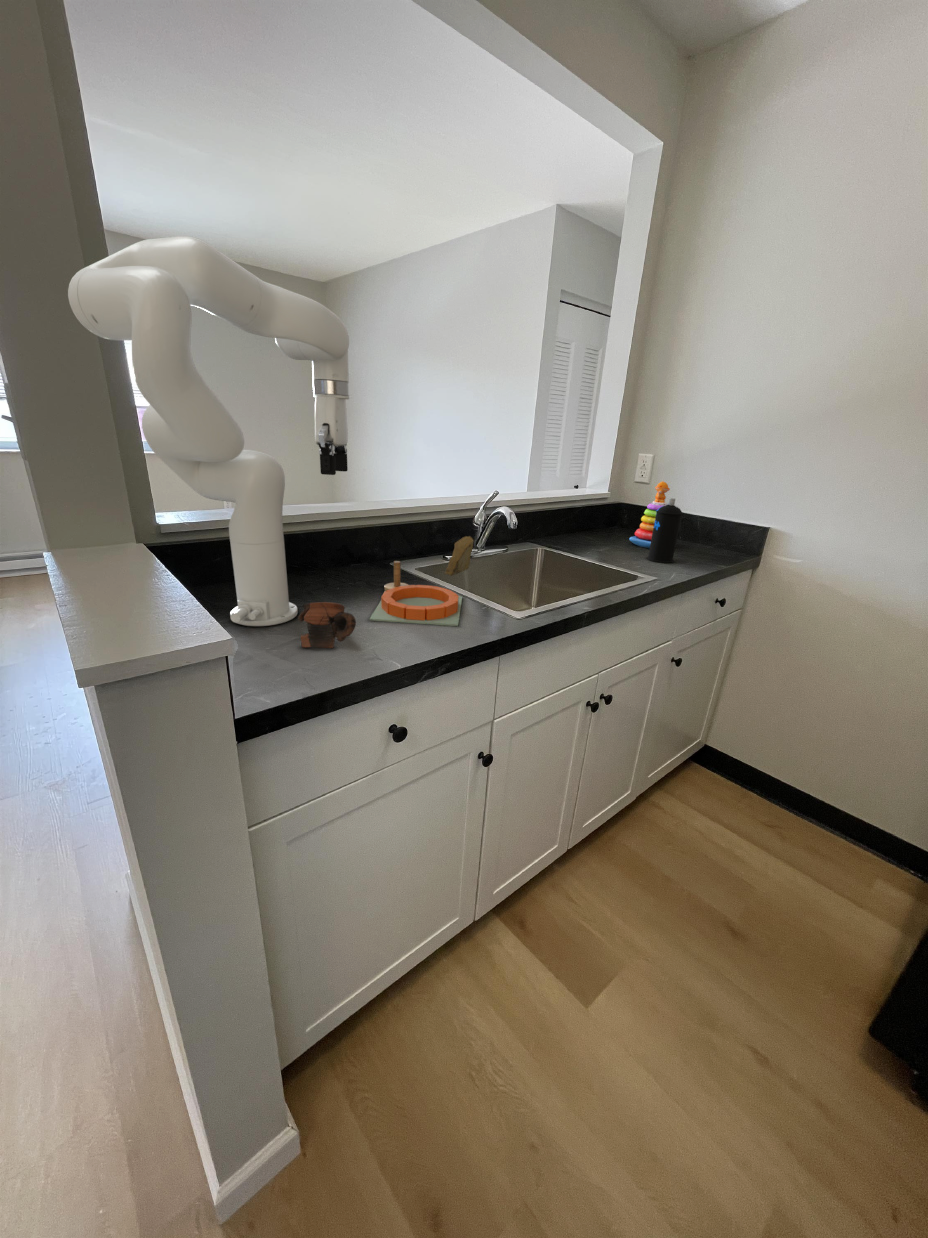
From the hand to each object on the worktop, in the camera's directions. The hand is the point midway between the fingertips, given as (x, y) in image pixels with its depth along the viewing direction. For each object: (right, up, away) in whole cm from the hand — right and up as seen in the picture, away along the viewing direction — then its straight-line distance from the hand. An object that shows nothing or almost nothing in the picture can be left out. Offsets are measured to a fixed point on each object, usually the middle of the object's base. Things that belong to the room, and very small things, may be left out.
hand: (334, 472), depth 113 cm
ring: (+20, -31, -5) cm, 37 cm away
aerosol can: (+94, -14, +50) cm, 108 cm away
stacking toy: (+100, -6, +71) cm, 123 cm away
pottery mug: (+5, -38, -23) cm, 45 cm away
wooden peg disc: (+13, -27, +6) cm, 30 cm away
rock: (+27, -20, +25) cm, 42 cm away
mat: (+20, -31, -5) cm, 37 cm away
